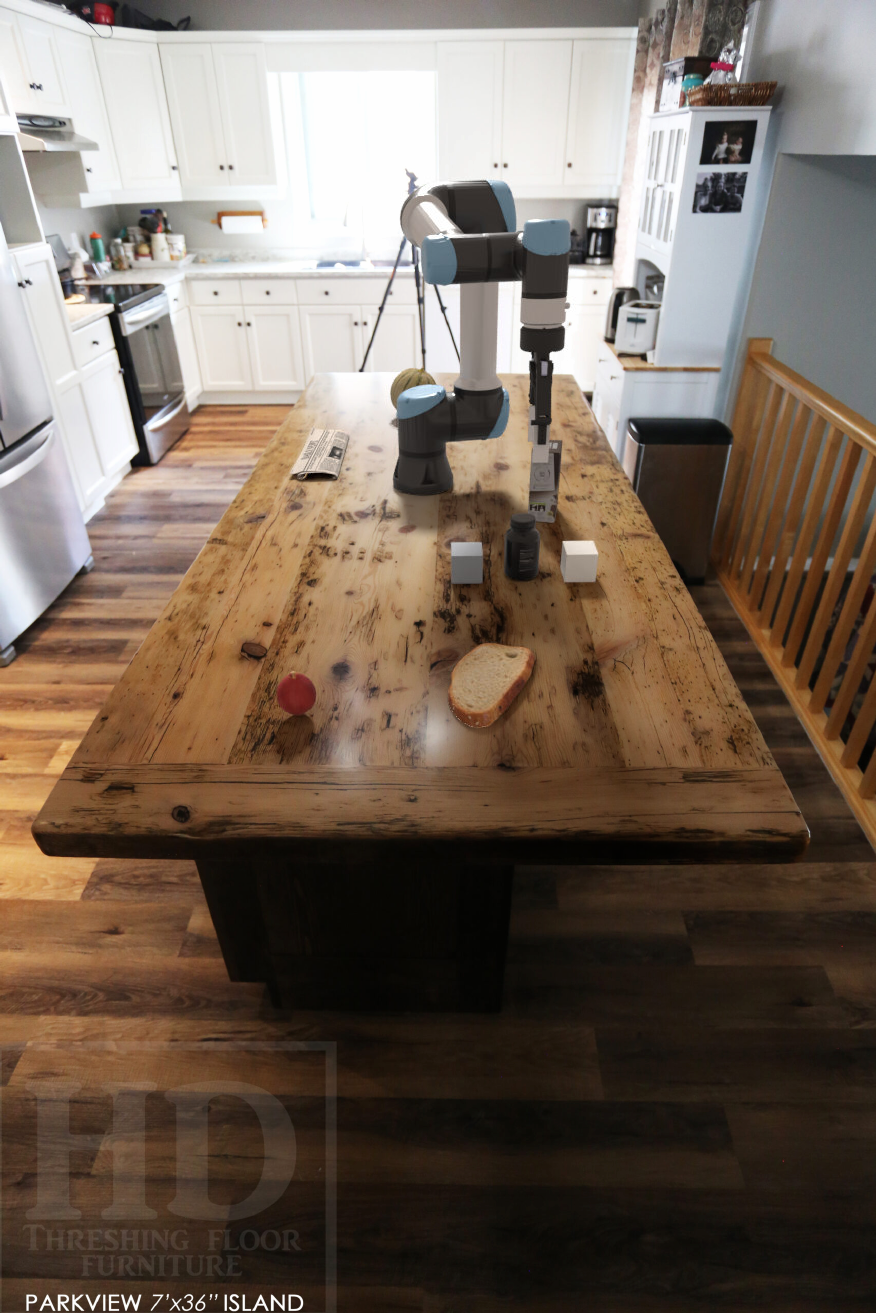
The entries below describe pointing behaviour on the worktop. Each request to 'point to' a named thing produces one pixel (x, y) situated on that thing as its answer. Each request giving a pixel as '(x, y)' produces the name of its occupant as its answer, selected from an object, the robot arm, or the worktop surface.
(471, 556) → the slate-grey block
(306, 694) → the onion
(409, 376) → the cantaloupe
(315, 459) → the newspaper
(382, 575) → the worktop surface
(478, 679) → the bread slice
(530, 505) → the coffee box
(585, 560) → the off-white block
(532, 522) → the supplement bottle
